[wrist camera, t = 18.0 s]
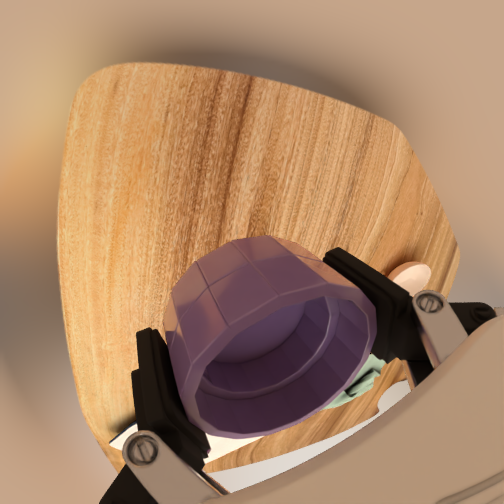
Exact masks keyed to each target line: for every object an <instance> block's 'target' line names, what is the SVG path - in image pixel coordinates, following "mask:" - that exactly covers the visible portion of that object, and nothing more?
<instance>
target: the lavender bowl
mask: <svg viewBox="0 0 504 504" xmlns="http://www.w3.org/2000/svg"><path fill="white" fill-rule="evenodd" d="M163 321H164V322H163V326H164V331H165V336H166V341H167V346H168V351H169V355H170V360H171V364H172V368H173V372H174V376H175V380H176V384H177V388H178V392H179V396H180V399H181V402H182V405H183V408H184V411H185V414H186V416H187V419H188V421H189V422H190V423H191V424H193V425H194V426H196V427H198V428H199V429H201V430H202V431H204V432H205V433H207V434H208V435H211V436H216V437H223V438H230V439H246V438H253V437H260V436H267V435H270V434H273V433H276V432H279V431H281V430H284V429H287V428H289V427H292V426H294V425H297V424H298V423H301V422H302V421H304V420H306V419H307V418H309V417H311V416H312V415H314V414H315V413H317V412H319V411H320V410H322V409H323V408H325V407H326V406H327V405H329V404H330V403H331V402H332V401H333V400H334V399H335V398H336V397H337V396H338V395H339V394H341V393H342V392H343V391H344V390H345V389H346V388H347V387H348V386H349V385H350V384H351V383H352V381H353V380H354V378H355V377H356V376H357V374H358V373H359V371H360V370H361V368H362V367H363V365H364V364H365V362H366V361H367V359H368V357H369V355H370V352H371V349H372V346H373V343H374V340H375V338H376V335H377V319H376V308H375V306H374V305H373V303H372V302H371V301H370V300H369V299H368V297H367V296H366V295H365V294H364V293H363V292H362V290H361V289H360V288H358V287H357V286H356V285H354V284H353V283H352V282H350V281H349V280H348V279H346V278H345V277H344V276H342V275H341V274H339V273H338V272H337V271H335V270H334V269H333V268H331V267H330V266H329V265H327V264H325V263H324V262H323V261H321V260H320V259H319V258H317V257H316V256H315V255H313V254H312V253H310V252H309V251H308V250H306V249H305V248H303V247H302V246H301V245H299V244H297V243H295V242H291V241H288V240H284V239H281V238H278V237H274V236H271V235H264V236H257V237H250V238H243V239H237V240H232V241H231V242H228V243H226V244H224V245H222V246H221V247H219V248H217V249H215V250H213V251H212V252H210V253H208V254H206V255H205V256H203V257H201V258H199V259H198V260H197V261H194V263H193V264H192V265H191V266H190V267H189V269H188V270H187V271H186V272H185V273H184V275H183V276H182V277H181V278H180V280H179V281H178V282H177V283H176V285H175V286H174V287H173V288H172V292H171V293H170V297H169V300H168V304H167V308H166V312H165V316H164V319H163Z"/></svg>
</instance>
